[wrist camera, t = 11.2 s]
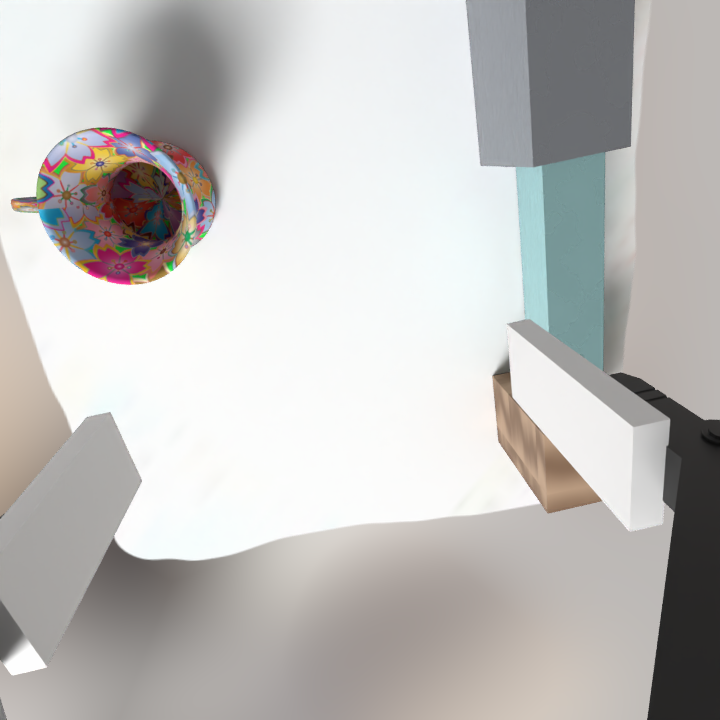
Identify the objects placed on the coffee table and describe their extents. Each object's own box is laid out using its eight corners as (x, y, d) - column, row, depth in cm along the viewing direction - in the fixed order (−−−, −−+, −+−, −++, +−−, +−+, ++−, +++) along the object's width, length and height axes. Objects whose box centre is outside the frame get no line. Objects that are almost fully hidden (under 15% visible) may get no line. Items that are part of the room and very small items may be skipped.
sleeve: (459, -70, 35) (517, -156, 25) (548, -88, 35) (639, -181, 25) (480, 165, 41) (533, 167, 32) (555, 149, 41) (630, 146, 32)
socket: (492, 376, 49) (543, 435, 38) (568, 358, 49) (641, 413, 38) (498, 441, 52) (547, 513, 41) (570, 425, 52) (637, 492, 42)
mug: (217, 138, 38) (187, 130, 28) (226, 256, 42) (202, 285, 32) (56, 131, 37) (-33, 121, 27) (79, 254, 40) (7, 284, 31)
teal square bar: (500, 123, 36) (534, 116, 31) (575, 107, 36) (622, 98, 31) (522, 437, 47) (550, 472, 42) (580, 424, 47) (614, 457, 42)
